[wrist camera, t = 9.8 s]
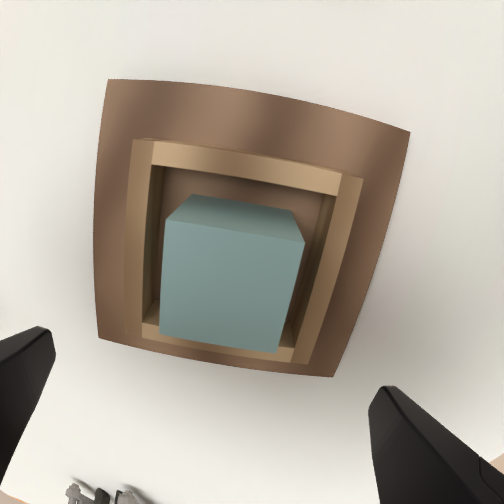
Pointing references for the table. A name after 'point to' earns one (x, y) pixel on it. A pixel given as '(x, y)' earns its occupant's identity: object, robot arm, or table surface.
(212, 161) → the board
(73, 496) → the bike brake
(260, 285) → the block
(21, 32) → the table surface
